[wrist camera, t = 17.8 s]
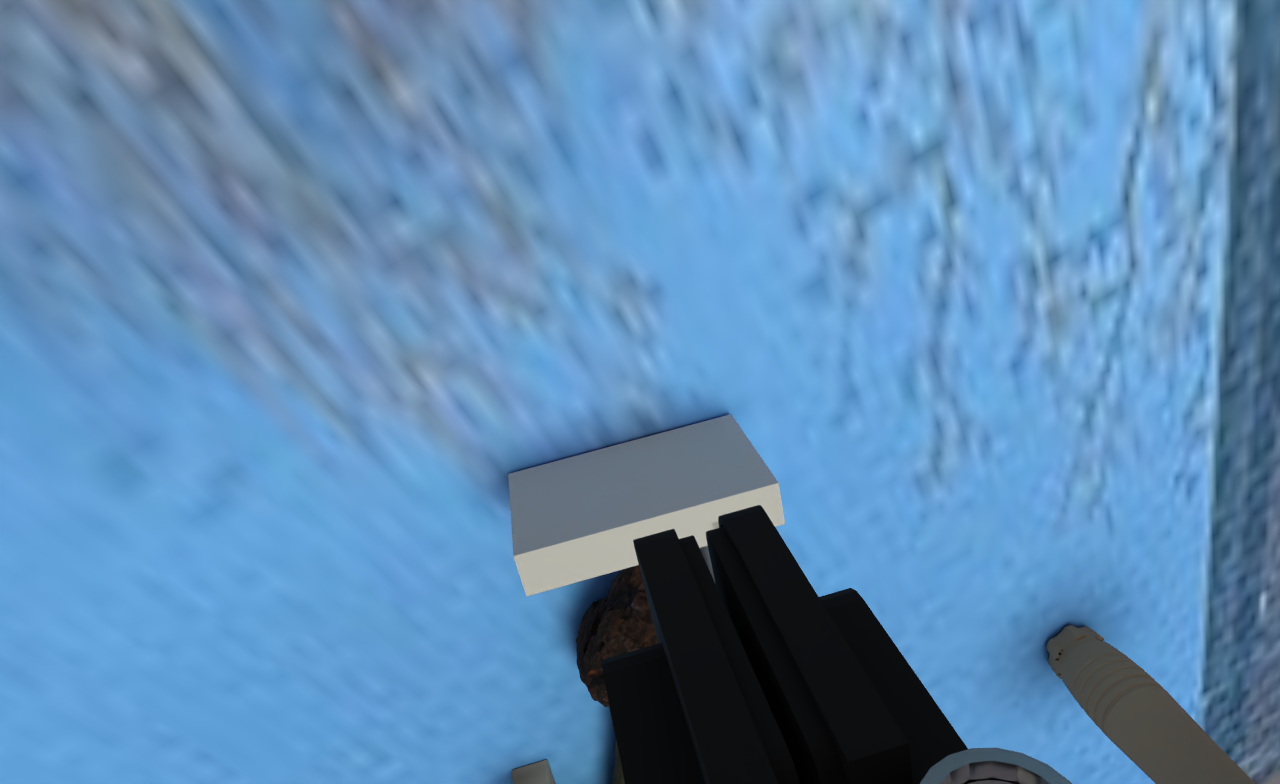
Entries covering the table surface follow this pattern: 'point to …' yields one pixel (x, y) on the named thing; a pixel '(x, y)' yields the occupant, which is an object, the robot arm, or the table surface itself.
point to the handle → (1138, 712)
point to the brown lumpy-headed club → (614, 635)
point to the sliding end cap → (633, 500)
